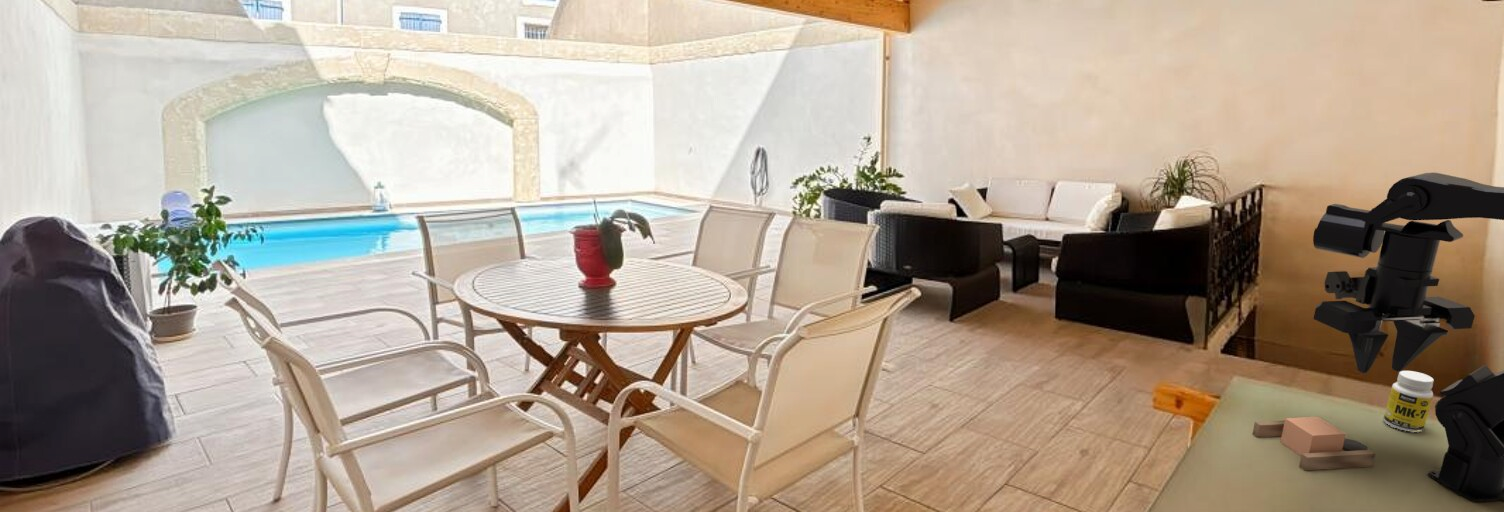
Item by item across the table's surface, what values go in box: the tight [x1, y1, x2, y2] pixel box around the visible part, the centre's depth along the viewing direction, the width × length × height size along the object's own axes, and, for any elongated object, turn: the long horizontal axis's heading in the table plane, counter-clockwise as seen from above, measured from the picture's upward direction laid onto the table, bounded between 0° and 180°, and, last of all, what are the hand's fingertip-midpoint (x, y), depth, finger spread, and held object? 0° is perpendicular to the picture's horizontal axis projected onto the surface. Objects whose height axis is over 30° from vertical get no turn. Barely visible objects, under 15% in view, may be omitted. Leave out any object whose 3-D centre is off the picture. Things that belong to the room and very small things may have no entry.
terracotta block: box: [1280, 416, 1347, 456], centre depth 108 cm, size 5×5×4 cm
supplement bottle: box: [1383, 370, 1435, 432], centre depth 114 cm, size 5×5×8 cm
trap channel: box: [1252, 419, 1376, 471], centre depth 109 cm, size 13×10×2 cm
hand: (1379, 371), depth 106 cm, fingers open, 5 cm apart
